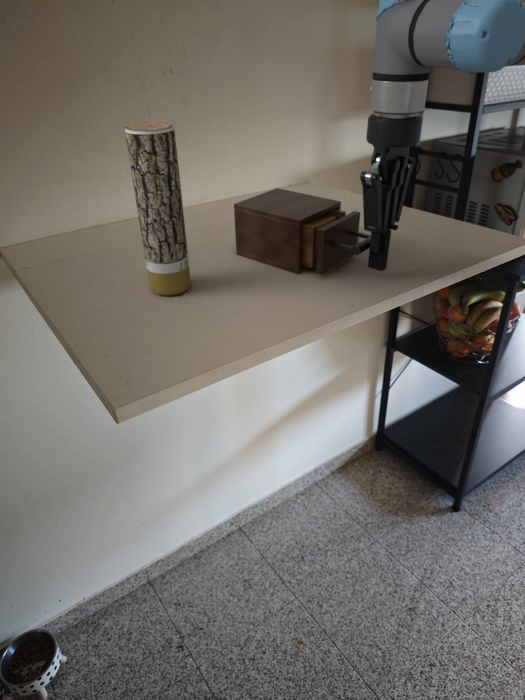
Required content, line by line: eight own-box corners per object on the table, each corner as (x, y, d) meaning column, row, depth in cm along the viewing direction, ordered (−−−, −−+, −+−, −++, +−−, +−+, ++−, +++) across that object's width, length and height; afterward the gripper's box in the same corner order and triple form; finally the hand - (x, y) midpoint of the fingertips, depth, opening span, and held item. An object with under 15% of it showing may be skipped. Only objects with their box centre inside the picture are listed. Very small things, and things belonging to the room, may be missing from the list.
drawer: (384, 261, 88) (389, 218, 84) (350, 284, 81) (354, 238, 77) (297, 237, 99) (298, 198, 94) (260, 255, 91) (259, 214, 87)
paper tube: (152, 300, 79) (125, 131, 66) (148, 282, 85) (123, 123, 71) (194, 294, 81) (176, 128, 67) (188, 277, 86) (171, 120, 73)
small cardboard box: (312, 240, 94) (313, 211, 91) (334, 246, 92) (336, 216, 89) (286, 253, 89) (286, 223, 86) (308, 260, 87) (309, 229, 84)
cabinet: (337, 251, 95) (341, 201, 89) (298, 274, 87) (299, 220, 81) (277, 235, 102) (277, 187, 97) (236, 254, 94) (233, 204, 89)
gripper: (393, 105, 76) (376, 250, 89) (348, 117, 68) (336, 275, 81) (440, 109, 72) (415, 260, 85) (398, 123, 64) (377, 288, 77)
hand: (376, 267), depth 83 cm, fingers closed
